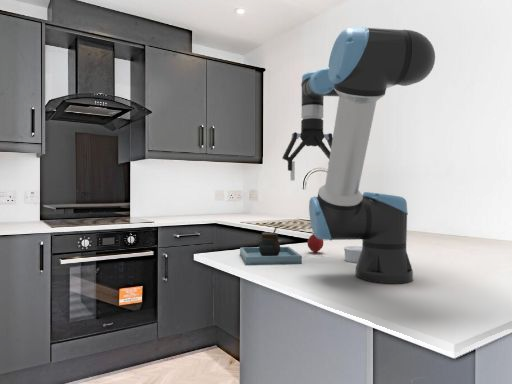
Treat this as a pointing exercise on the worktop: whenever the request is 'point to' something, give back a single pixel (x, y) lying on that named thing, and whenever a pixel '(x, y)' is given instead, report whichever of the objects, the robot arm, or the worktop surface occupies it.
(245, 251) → the slate tray
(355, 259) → the ramekin
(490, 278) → the worktop surface
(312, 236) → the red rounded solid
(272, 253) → the mate gourd
